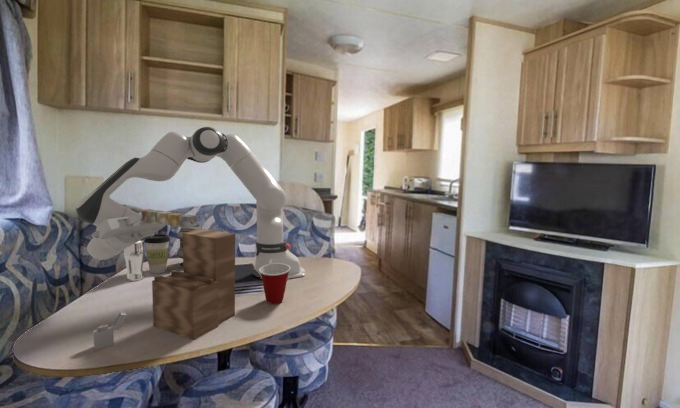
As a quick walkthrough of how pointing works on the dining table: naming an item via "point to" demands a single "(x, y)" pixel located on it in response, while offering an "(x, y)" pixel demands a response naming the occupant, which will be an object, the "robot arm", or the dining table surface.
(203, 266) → the walnut display stand
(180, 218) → the bead bar
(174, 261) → the dining table surface
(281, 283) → the plastic cup
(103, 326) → the lighter
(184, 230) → the apothecary jar
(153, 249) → the coffee cup
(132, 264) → the beer glass
